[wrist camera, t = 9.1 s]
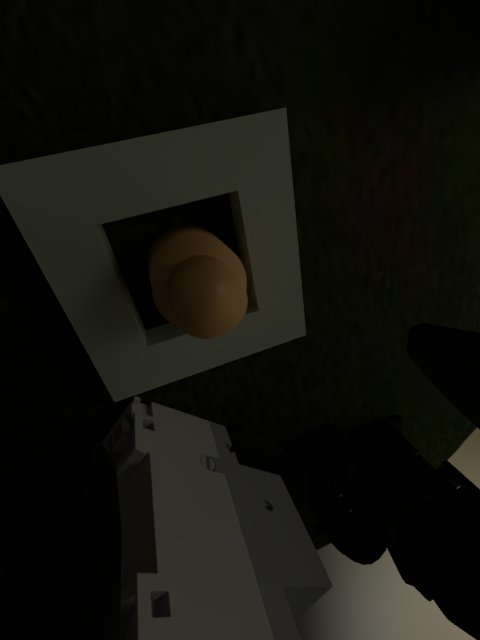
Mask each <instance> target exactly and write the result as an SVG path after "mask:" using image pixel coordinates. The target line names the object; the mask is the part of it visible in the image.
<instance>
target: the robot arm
mask: <svg viewBox="0 0 480 640" xmlns="http://www.w3.org/2000/svg"><path fill="white" fill-rule="evenodd" d="M407 353H408V355H409V357H410V358H411V359H412V361H413V362H414V363H415V364H416V365H417V366H418V367H419V368H420V370H421V371H422V372H423V373H424V374H425V375H426V376H427V377H428V378H429V380H430V381H431V382H432V383H433V384H434V385H435V386H436V387H437V389H438V390H439V391H440V392H441V393H442V394H443V395H444V396H445V397H446V398H447V399H448V400H449V401H450V402H451V403H452V404H453V405H454V406H455V407H456V408H457V409H458V410H460V411H461V412H462V413H463V414H464V415H465V416H466V417H467V418H468V419H469V420H470V421H471V422H472V423H473V424H475V425H476V426H477V427H478V428H479V429H480V333H476V332H470V331H465V330H460V329H454V328H449V327H443V326H438V325H433V324H427V323H421V324H418V325H416V326H413V327H411V328H410V330H409V332H408V341H407ZM401 424H402V418H401V417H400V416H399V415H394V416H392V417H390V418H387V419H385V420H383V421H380V422H378V423H376V424H373V425H371V426H369V427H366V428H364V429H362V430H359V431H357V432H355V433H352V434H350V435H349V437H350V439H351V443H352V450H351V453H350V455H349V457H348V458H347V460H346V472H348V471H349V470H350V469H351V468H357V469H359V470H360V471H362V472H363V473H364V474H365V475H367V476H368V477H369V478H370V479H371V480H372V482H373V483H374V484H375V485H376V486H377V488H378V489H379V491H380V492H381V493H382V495H383V497H384V498H385V500H386V502H387V505H388V507H389V515H387V516H386V517H385V518H383V519H382V520H381V524H382V526H383V529H384V532H385V536H386V547H387V549H388V551H389V553H390V555H391V557H392V559H393V561H394V563H395V565H396V567H397V569H398V571H399V573H400V575H401V577H402V579H403V580H404V582H405V583H406V584H409V585H412V586H414V587H415V588H416V589H417V590H418V591H419V592H420V593H421V594H422V595H423V596H424V597H425V598H426V599H427V600H428V601H431V600H434V601H435V603H436V604H437V605H438V607H439V608H440V610H441V611H442V612H443V614H444V615H445V616H446V618H447V619H448V620H449V621H451V622H452V623H453V624H455V625H456V626H458V627H459V628H460V629H462V630H463V631H465V632H466V633H468V634H469V635H471V636H472V637H474V638H475V639H476V640H480V489H479V488H478V487H476V486H475V485H474V484H473V483H472V482H471V481H470V480H469V479H467V478H466V477H465V476H464V475H463V474H462V473H461V472H460V471H458V470H457V469H456V468H455V467H454V466H453V465H451V463H449V462H448V461H447V460H445V461H444V462H442V465H441V466H439V467H438V468H437V469H436V470H435V469H434V468H433V467H432V466H431V465H430V464H429V463H428V462H427V461H426V460H425V459H424V458H423V457H422V456H421V455H420V454H419V452H418V451H417V450H416V449H415V448H414V447H413V446H412V445H411V444H410V443H409V442H408V441H407V440H406V439H405V438H404V437H403V436H402V435H401V434H400V432H401ZM459 486H460V487H459ZM457 487H459V488H458V489H457ZM121 569H122V528H121V515H120V504H119V493H118V482H117V471H116V467H115V464H114V462H113V460H112V459H111V457H110V455H109V454H108V452H107V451H106V449H105V448H104V446H103V445H102V444H101V443H96V444H94V445H91V446H88V447H86V448H84V449H82V450H81V452H80V453H79V455H78V456H77V458H76V459H75V461H74V462H73V464H72V465H71V467H70V468H69V470H68V471H67V473H66V474H65V476H64V477H63V479H62V480H61V482H60V483H59V485H58V486H57V488H56V489H55V491H54V492H53V494H52V495H51V497H50V498H49V500H48V501H47V503H46V504H45V506H44V507H43V509H42V510H41V512H40V514H39V515H38V517H37V518H36V520H35V521H34V523H33V524H32V526H31V527H30V529H29V530H28V532H27V533H26V535H25V536H24V538H23V539H22V541H21V542H20V544H19V545H18V547H17V548H16V550H15V551H14V553H13V554H12V556H11V557H10V559H9V560H8V562H7V563H6V565H5V566H4V568H3V569H2V571H1V573H0V640H120V615H121Z"/></svg>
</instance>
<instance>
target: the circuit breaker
mask: <svg viewBox="0 0 480 640" xmlns="http://www.w3.org/2000/svg"><path fill="white" fill-rule="evenodd" d="M139 402H140V398H139V397H136V396H134V398H133V399H132V401H131V402H130V403H129V405H128V406H127V408H126V409H125V411H124V412H123V413H122V415H121V416H120V418H119V419H118V420H117V422H116V423H115V425H114V426H113V428H112V429H111V430H110V432H109V433H108V435H107V436H106V438H105V439H104V440H103V442H102V443H101V444H102V445H103V446H104V448H105V449H106V451H107V452H108V454H109V455H110V457H111V459H112V460H113V462H114V464H115V467H116V471H117V482H118V493H119V504H120V515H121V528H122V569H121V615H120V640H301V638H300V636H299V632H298V630H297V627H296V624H295V621H296V620H297V619H298V618H299V617H300V616H301V615H302V614H304V612H306V611H307V610H308V609H309V608H310V607H311V606H312V605H313V604H314V603H315V602H316V601H317V600H318V599H319V598H320V597H322V596H323V595H324V594H325V593H326V592H327V591H328V590H329V589H330V588H331V587H332V583H331V581H330V579H329V577H328V575H327V574H326V570H325V568H324V566H323V564H322V562H321V560H320V558H319V556H318V554H317V551H316V549H315V547H314V545H313V543H312V541H311V539H310V537H309V535H308V533H307V530H306V528H305V526H304V524H303V522H302V520H301V518H300V516H299V514H298V512H297V509H296V507H295V505H294V503H293V501H292V499H291V497H290V495H289V493H288V491H287V488H286V486H285V484H284V482H283V480H282V478H281V476H280V475H276V474H272V473H269V472H265V471H261V470H258V469H254V468H251V467H247V466H243V465H240V464H239V463H238V460H237V458H236V455H235V452H233V453H230V451H229V448H230V447H231V445H232V444H231V441H230V438H229V436H228V433H227V430H226V427H224V426H222V425H219V424H216V423H213V422H210V421H207V420H204V419H201V418H198V417H195V416H192V415H189V414H186V413H183V412H180V411H177V410H174V409H171V408H168V407H165V406H162V405H159V404H156V403H154V402H151V404H150V405H149V406H148V405H145V404H142V403H139ZM120 427H121V429H120Z"/></svg>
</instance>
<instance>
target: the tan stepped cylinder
mask: <svg viewBox="0 0 480 640" xmlns="http://www.w3.org/2000/svg"><path fill="white" fill-rule="evenodd" d="M147 262H148V270H149V276H150V282H151V288H152V294H153V298H154V302H155V304H156V307H157V308H158V310H159V312H160V313H161V314H162V316H163V317H164V318H165V319H166V320H168V321H169V322H170V323H172V324H173V325H175V326H177V327H180V328H181V329H182V330H183V331H184V332H185V333H187V334H189V335H191V336H193V337H196V338H200V339H212V338H217V337H220V336H223V335H225V334H227V333H229V332H230V331H232V330H233V329H234V328H235V327H236V326H237V325H238V324H239V323H240V321H241V320H242V318H243V317H244V314H245V312H246V309H247V303H248V298H247V292H246V288H247V277H246V272H245V269H244V266H243V264H242V262H241V261H240V259H239V258H238V256H237V255H236V254H235V253H234V252H233V251H232V250H231V249H229V248H228V247H227V246H226V245H225V244H224V243H223V242H221V241H220V240H219V239H218V238H217V237H216V236H215V235H213V234H212V233H211V232H210V231H209V230H207V229H206V228H204V227H202V226H200V225H197V224H193V223H179V224H175V225H172V226H169V227H167V228H166V229H164V230H163V231H161V232H160V233H159V234H158V235H157V236H156V237H155V239H154V240H153V242H152V244H151V246H150V248H149V252H148V261H147Z"/></svg>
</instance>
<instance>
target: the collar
mask: <svg viewBox="0 0 480 640" xmlns="http://www.w3.org/2000/svg"><path fill="white" fill-rule="evenodd" d="M225 193H228V194H229V199H230V205H231V210H232V215H233V220H234V226H235V231H236V236H237V241H238V247H239V252H240V257H241V262H242V264H243V266H244V269H245V272H246V277H247V288H246V289H247V294H248V303H247V309H246V312H245V314H244V317H243V318H242V320H241V321H240V323H239V324H238V325H237V326H236V327H235V328H234V329H233V330H232V331H230V332H229V333H227V334H225V335H223V336H220V337H217V338H212V339H200V338H196V337H193V336H191V335H189V334H187V333H185V332H184V331H183V330H182V329H181V328H180V327H177V326H175V325H173V324H172V323H168V324H165V325H162V326H159V327H156V328H152V329H149V330H146V331H145V329H144V326H143V324H142V321H141V319H140V316H139V314H138V312H137V309H136V307H135V304H134V302H133V299H132V297H131V295H130V292H129V290H128V287H127V285H126V282H125V280H124V277H123V275H122V273H121V270H120V268H119V265H118V263H117V260H116V258H115V256H114V253H113V251H112V248H111V246H110V243H109V241H108V239H107V236H106V234H105V231H104V229H103V226H102V224H104V223H108V222H112V221H116V220H120V219H124V218H128V217H132V216H136V215H140V214H144V213H148V212H152V211H157V210H161V209H165V208H169V207H173V206H177V205H181V204H185V203H189V202H193V201H197V200H201V199H205V198H209V197H213V196H217V195H221V194H225ZM0 196H1V197H2V199H3V201H4V203H5V205H6V206H7V208H8V210H9V212H10V214H11V216H12V217H13V219H14V221H15V223H16V225H17V226H18V228H19V230H20V232H21V234H22V235H23V237H24V239H25V241H26V243H27V244H28V246H29V248H30V250H31V252H32V254H33V255H34V257H35V259H36V261H37V263H38V264H39V266H40V268H41V270H42V272H43V273H44V275H45V277H46V279H47V281H48V283H49V284H50V286H51V288H52V290H53V292H54V293H55V295H56V297H57V299H58V301H59V302H60V304H61V306H62V308H63V310H64V311H65V313H66V315H67V317H68V319H69V321H70V322H71V324H72V326H73V328H74V330H75V331H76V333H77V335H78V337H79V339H80V340H81V342H82V344H83V346H84V348H85V349H86V351H87V353H88V355H89V357H90V359H91V360H92V362H93V364H94V366H95V368H96V369H97V371H98V373H99V375H100V377H101V378H102V380H103V382H104V384H105V386H106V387H107V389H108V391H109V393H110V395H111V397H112V398H113V400H114V402H117V401H119V400H122V399H125V398H128V397H131V396H134V395H136V394H139V393H142V392H145V391H148V390H151V389H154V388H156V387H159V386H162V385H165V384H168V383H171V382H173V381H176V380H179V379H182V378H185V377H188V376H191V375H193V374H196V373H199V372H202V371H205V370H208V369H210V368H213V367H216V366H219V365H222V364H225V363H228V362H230V361H233V360H236V359H239V358H242V357H245V356H247V355H250V354H253V353H256V352H259V351H262V350H265V349H267V348H270V347H273V346H276V345H279V344H282V343H284V342H287V341H290V340H293V339H296V338H299V337H302V336H304V335H306V330H305V318H304V307H303V296H302V284H301V273H300V261H299V250H298V238H297V227H296V216H295V204H294V193H293V181H292V170H291V159H290V147H289V136H288V124H287V113H286V108H282V109H277V110H272V111H267V112H262V113H257V114H252V115H247V116H242V117H237V118H233V119H228V120H223V121H218V122H213V123H208V124H203V125H198V126H193V127H188V128H183V129H178V130H173V131H168V132H163V133H158V134H153V135H148V136H143V137H138V138H134V139H129V140H124V141H119V142H114V143H109V144H104V145H99V146H94V147H89V148H84V149H79V150H74V151H69V152H64V153H59V154H54V155H49V156H44V157H39V158H34V159H30V160H25V161H20V162H15V163H10V164H5V165H0Z"/></svg>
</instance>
